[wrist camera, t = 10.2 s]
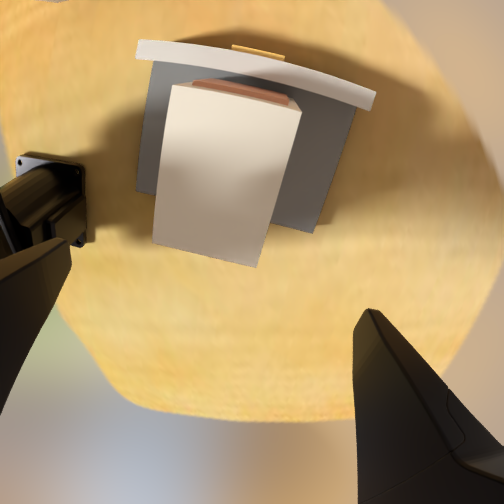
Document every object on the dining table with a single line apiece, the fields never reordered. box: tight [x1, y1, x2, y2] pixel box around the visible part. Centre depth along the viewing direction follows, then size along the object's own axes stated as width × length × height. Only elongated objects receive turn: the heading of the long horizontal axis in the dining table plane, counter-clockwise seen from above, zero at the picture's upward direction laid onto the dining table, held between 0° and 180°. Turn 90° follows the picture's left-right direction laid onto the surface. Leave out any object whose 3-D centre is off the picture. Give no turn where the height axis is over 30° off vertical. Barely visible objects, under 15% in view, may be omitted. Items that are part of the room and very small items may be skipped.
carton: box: [152, 78, 302, 268], centre depth 14 cm, size 7×4×6 cm
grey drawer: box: [135, 39, 376, 234], centre depth 16 cm, size 11×9×4 cm
